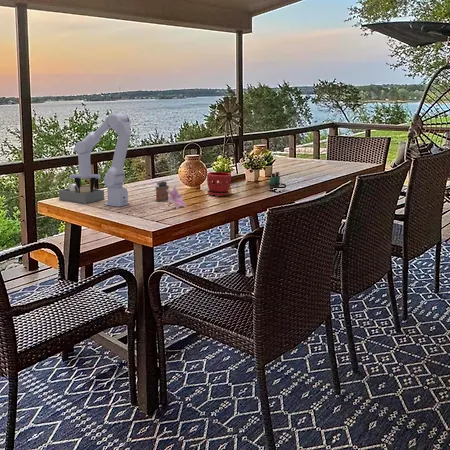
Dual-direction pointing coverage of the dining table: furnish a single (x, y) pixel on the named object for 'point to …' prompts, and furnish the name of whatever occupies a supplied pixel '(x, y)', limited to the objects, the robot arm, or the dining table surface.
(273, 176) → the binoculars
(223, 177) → the plant pot
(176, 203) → the lily
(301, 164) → the dining table surface
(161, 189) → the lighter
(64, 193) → the tote
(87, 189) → the maple cube
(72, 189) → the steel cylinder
